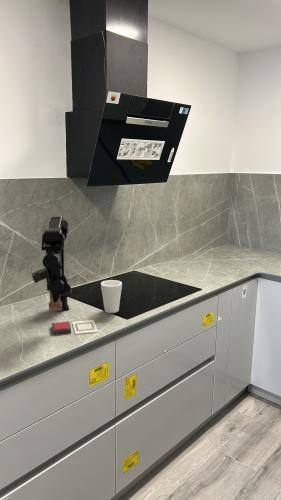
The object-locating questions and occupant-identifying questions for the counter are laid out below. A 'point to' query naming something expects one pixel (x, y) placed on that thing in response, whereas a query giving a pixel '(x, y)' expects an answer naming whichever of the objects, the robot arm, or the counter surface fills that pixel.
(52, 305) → the stamp
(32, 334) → the counter surface
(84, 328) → the paper sheet
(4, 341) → the counter surface
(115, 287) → the foam cup
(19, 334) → the counter surface
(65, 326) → the ink pad
